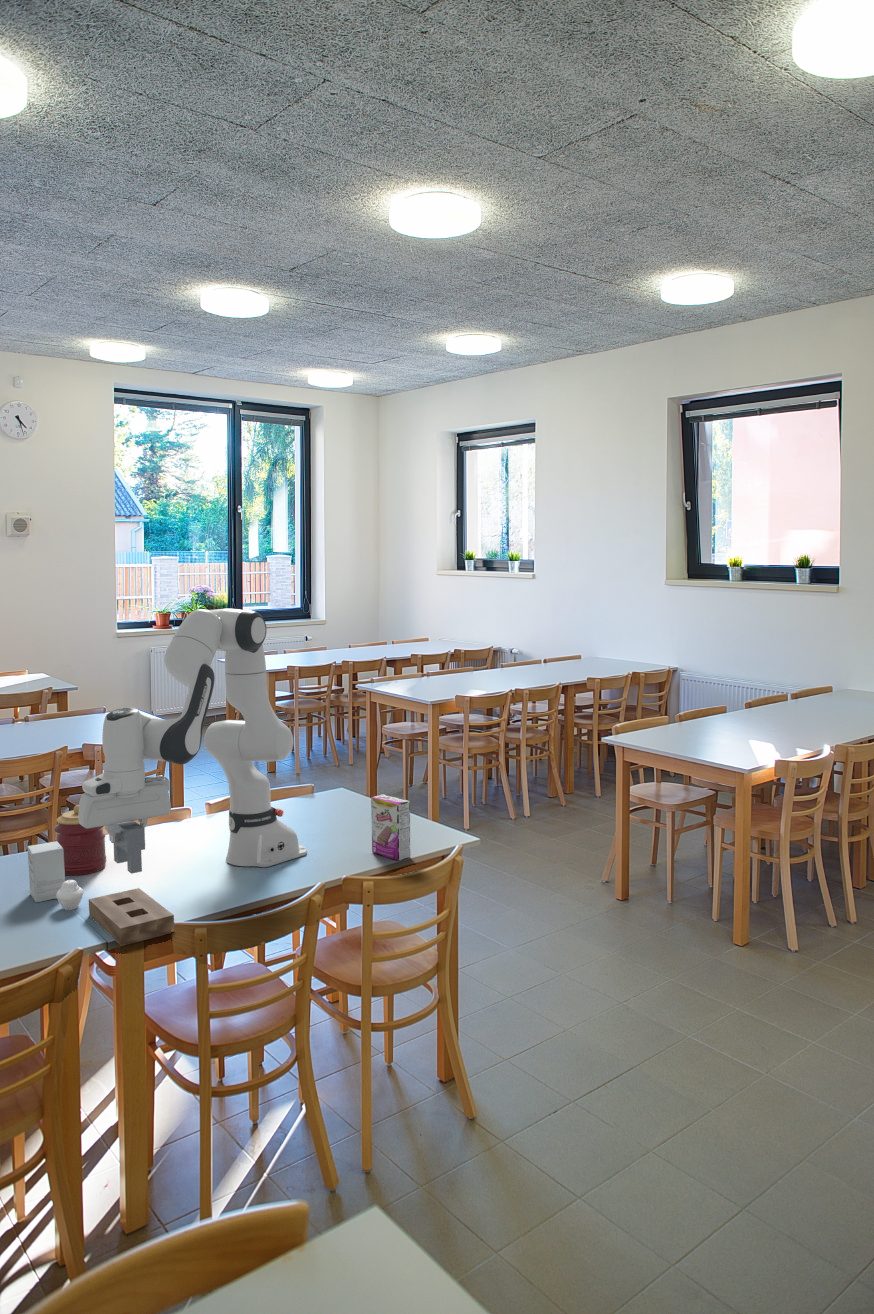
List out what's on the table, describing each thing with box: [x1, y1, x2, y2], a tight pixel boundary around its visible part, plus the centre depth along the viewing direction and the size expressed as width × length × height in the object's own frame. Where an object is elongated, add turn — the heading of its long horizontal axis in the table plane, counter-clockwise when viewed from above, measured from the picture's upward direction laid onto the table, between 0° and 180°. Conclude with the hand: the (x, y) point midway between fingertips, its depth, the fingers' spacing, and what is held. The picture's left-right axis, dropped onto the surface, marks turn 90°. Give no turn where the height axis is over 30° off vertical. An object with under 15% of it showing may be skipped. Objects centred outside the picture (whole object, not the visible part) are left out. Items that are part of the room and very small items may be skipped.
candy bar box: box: [370, 793, 411, 862], centre depth 260 cm, size 11×5×16 cm, turn 47°
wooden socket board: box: [88, 887, 175, 947], centre depth 213 cm, size 12×22×4 cm, turn 38°
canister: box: [53, 804, 107, 876], centre depth 251 cm, size 13×13×18 cm
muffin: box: [56, 879, 84, 911], centre depth 223 cm, size 6×6×7 cm
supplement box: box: [26, 841, 66, 903], centre depth 231 cm, size 7×7×13 cm
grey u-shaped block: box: [108, 820, 146, 875], centre depth 211 cm, size 4×12×10 cm, turn 38°
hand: (126, 840), depth 211 cm, fingers closed on grey u-shaped block, 4 cm apart
